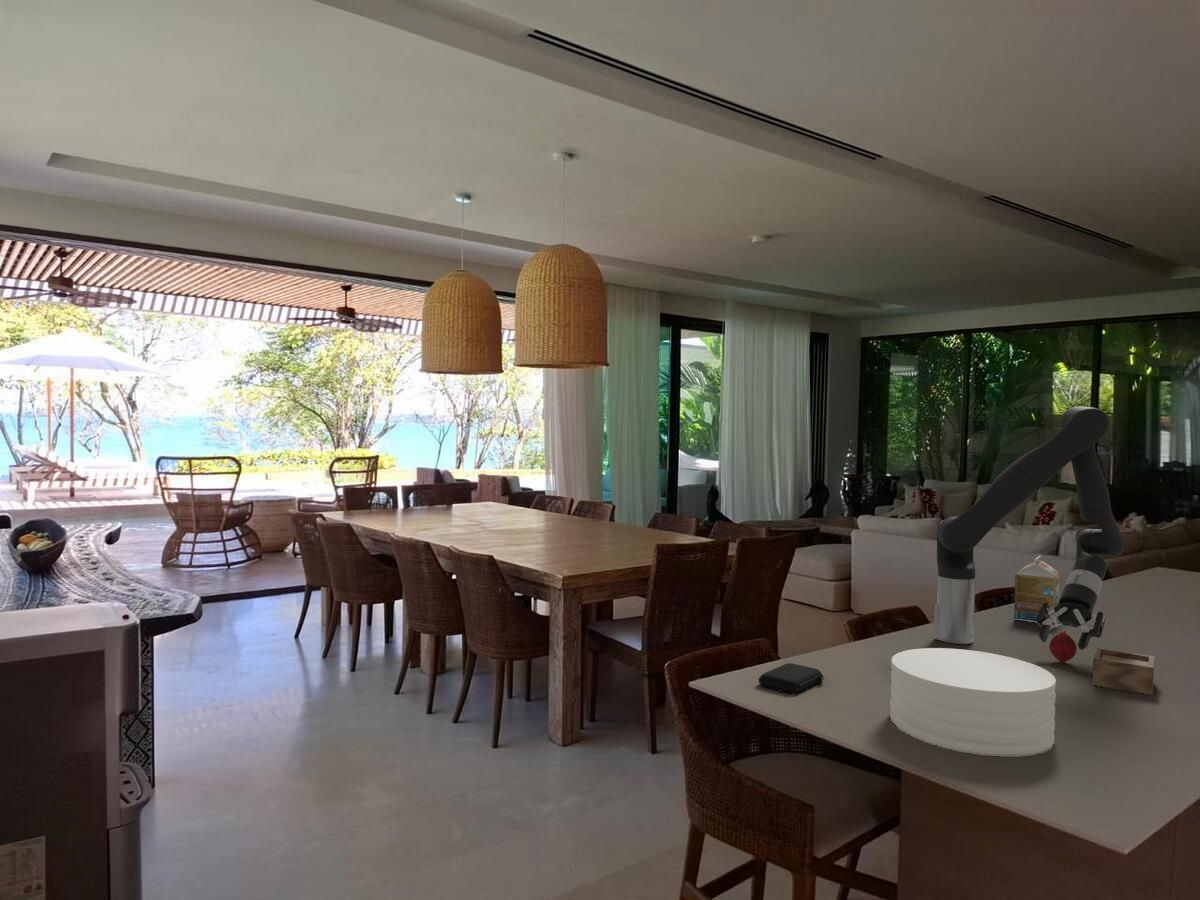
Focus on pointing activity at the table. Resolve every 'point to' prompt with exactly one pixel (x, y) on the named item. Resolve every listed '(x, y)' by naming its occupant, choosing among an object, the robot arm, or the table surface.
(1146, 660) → the wooden tray
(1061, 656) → the onion
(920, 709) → the plate stack
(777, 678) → the carrying case or bag
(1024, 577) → the milk carton
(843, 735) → the table surface
